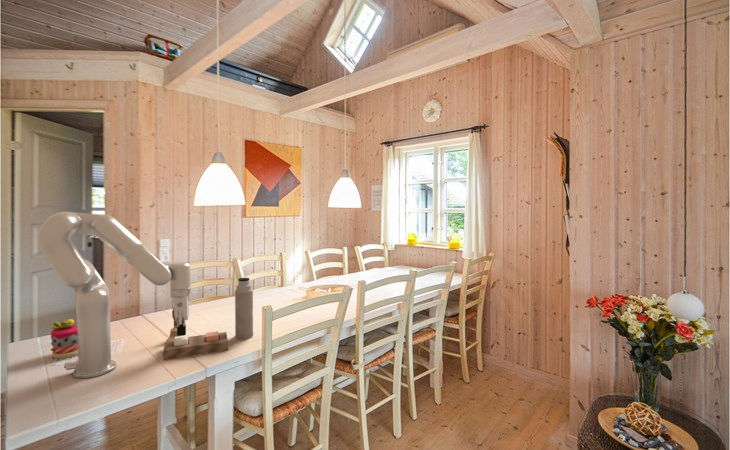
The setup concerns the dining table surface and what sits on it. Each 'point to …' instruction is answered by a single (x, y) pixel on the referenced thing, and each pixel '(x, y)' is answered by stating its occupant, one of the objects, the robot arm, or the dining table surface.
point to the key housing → (195, 346)
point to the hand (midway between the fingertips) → (181, 334)
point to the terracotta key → (212, 336)
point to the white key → (181, 340)
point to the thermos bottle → (243, 310)
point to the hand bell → (174, 330)
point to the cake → (64, 340)
